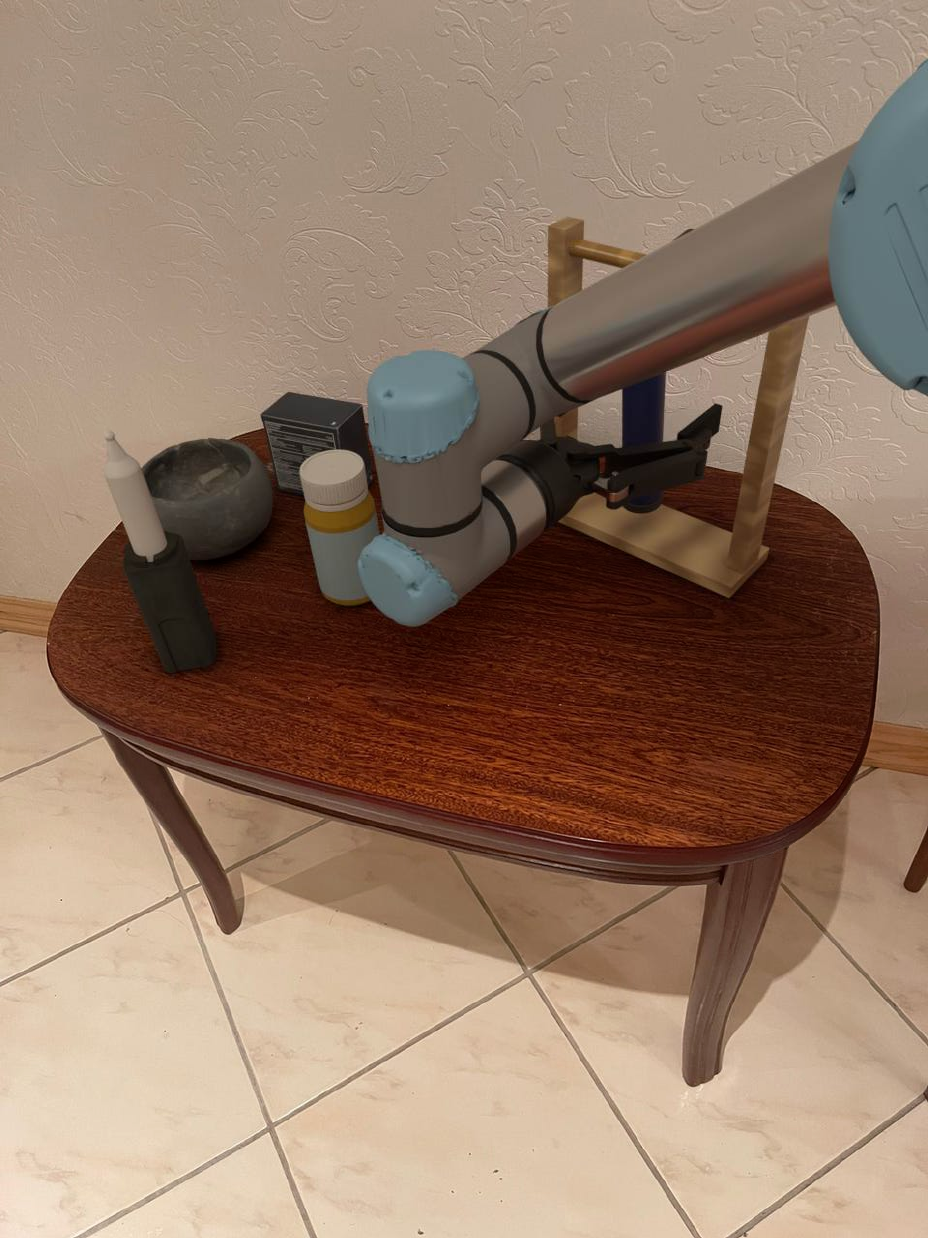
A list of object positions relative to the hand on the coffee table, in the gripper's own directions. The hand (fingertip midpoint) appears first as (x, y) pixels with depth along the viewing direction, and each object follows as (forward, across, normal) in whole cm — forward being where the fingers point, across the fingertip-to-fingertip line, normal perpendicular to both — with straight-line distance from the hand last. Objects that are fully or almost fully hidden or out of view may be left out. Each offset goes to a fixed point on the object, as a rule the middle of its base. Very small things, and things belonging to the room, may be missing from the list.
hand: (654, 396), depth 86 cm
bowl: (-30, -38, -17) cm, 51 cm away
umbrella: (+2, 0, -11) cm, 12 cm away
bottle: (-25, -19, -17) cm, 36 cm away
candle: (-42, -25, -17) cm, 52 cm away
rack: (+1, 0, -17) cm, 17 cm away
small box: (-14, -36, -17) cm, 42 cm away
